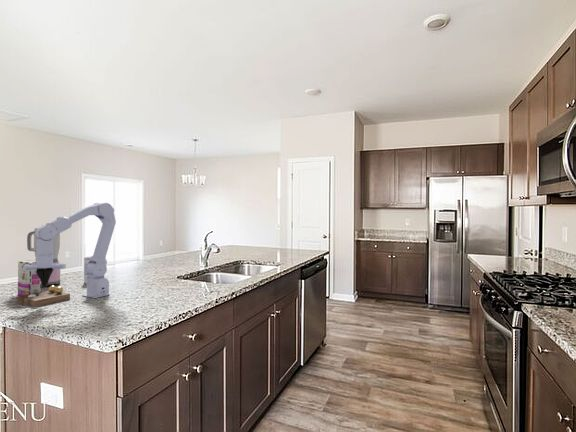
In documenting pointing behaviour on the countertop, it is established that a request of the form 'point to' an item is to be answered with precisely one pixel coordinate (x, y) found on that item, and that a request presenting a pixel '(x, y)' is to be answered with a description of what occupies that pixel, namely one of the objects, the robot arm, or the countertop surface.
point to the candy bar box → (28, 279)
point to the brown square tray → (42, 298)
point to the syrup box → (86, 260)
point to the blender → (56, 245)
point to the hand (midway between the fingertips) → (44, 286)
